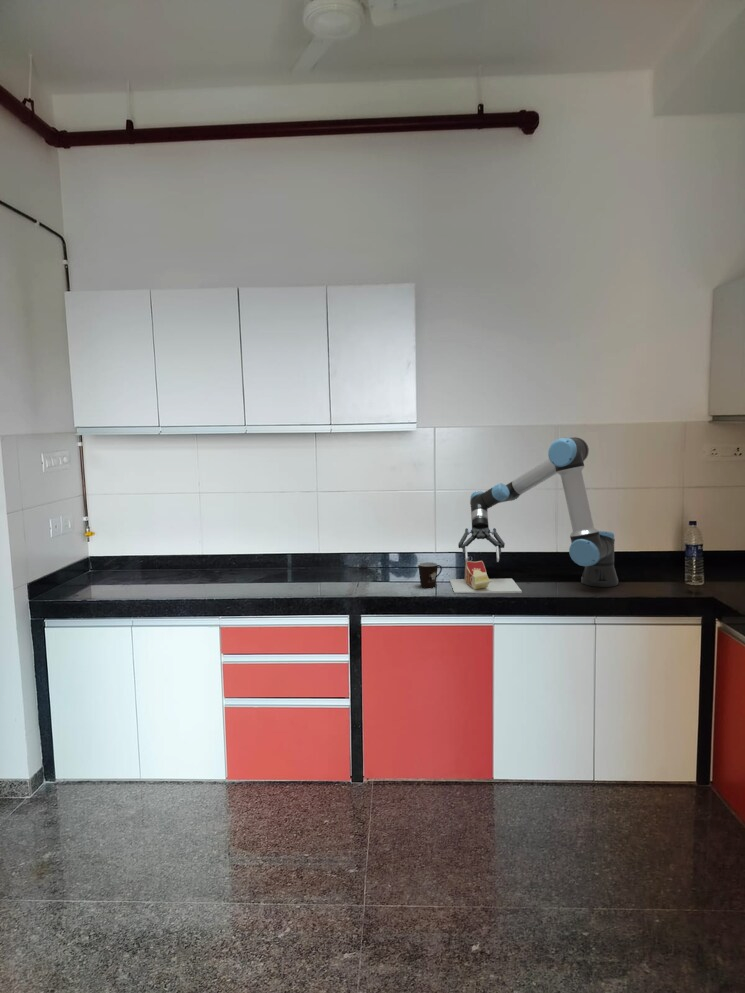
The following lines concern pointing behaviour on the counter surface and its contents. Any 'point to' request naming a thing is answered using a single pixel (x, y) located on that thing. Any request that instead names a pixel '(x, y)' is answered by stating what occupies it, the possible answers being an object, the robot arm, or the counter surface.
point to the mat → (493, 586)
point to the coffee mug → (428, 574)
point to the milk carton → (476, 574)
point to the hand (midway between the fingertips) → (482, 560)
